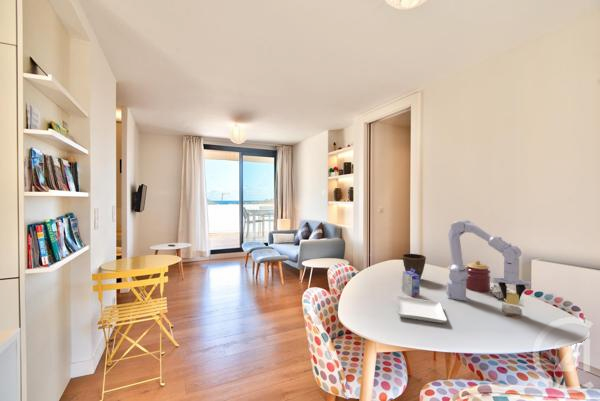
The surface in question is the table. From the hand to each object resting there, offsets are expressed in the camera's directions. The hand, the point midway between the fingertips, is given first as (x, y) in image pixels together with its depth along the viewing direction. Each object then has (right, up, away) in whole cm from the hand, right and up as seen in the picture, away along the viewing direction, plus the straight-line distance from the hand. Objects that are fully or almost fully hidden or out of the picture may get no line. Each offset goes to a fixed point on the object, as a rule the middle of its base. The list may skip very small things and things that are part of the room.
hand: (511, 298), depth 126 cm
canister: (+7, -7, +34) cm, 36 cm away
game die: (+9, -7, +19) cm, 22 cm away
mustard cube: (0, -2, 0) cm, 2 cm away
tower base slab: (0, -8, 0) cm, 8 cm away
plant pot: (-24, -7, +53) cm, 59 cm away
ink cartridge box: (-37, -7, +27) cm, 47 cm away
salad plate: (-44, -8, +3) cm, 44 cm away
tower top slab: (0, -6, 0) cm, 6 cm away
